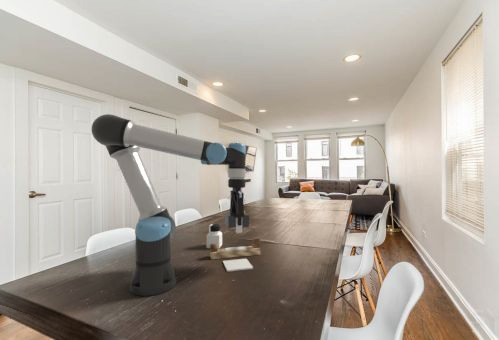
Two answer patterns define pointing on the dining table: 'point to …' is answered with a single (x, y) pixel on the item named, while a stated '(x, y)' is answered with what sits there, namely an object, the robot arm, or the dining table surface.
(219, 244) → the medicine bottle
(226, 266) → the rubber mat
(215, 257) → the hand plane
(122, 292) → the dining table surface
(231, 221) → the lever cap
